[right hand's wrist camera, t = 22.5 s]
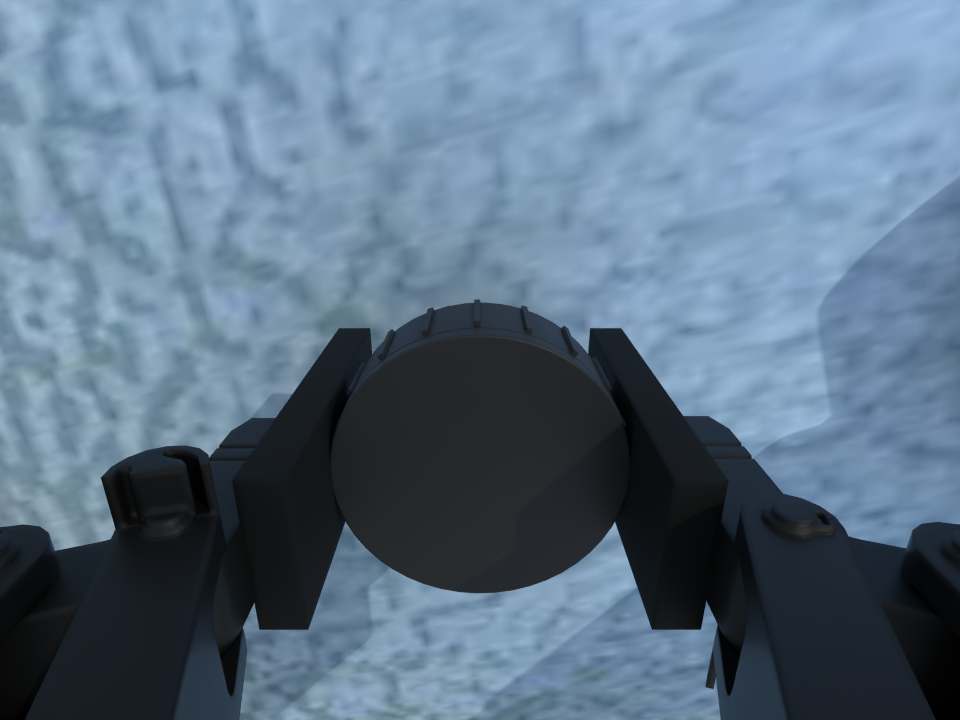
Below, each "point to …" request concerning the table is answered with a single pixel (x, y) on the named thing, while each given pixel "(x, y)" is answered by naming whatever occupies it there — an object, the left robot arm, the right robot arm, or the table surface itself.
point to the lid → (480, 450)
